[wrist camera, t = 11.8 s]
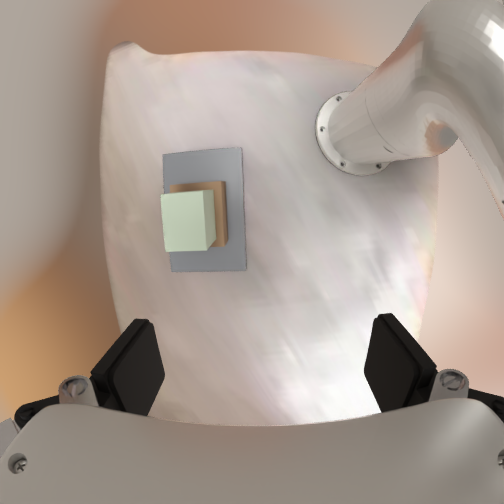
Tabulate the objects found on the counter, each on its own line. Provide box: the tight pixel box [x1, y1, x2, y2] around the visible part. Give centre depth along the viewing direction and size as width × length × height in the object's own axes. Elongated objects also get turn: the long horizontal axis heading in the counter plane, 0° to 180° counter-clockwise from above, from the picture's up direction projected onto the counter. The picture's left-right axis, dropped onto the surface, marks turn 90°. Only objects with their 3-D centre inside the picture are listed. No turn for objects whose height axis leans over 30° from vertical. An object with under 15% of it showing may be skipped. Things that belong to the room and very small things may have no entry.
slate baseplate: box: [163, 147, 247, 272], centre depth 37 cm, size 11×17×1 cm, turn 2°
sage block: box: [160, 190, 216, 252], centre depth 30 cm, size 4×6×6 cm
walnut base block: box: [170, 181, 228, 247], centre depth 35 cm, size 6×8×4 cm
